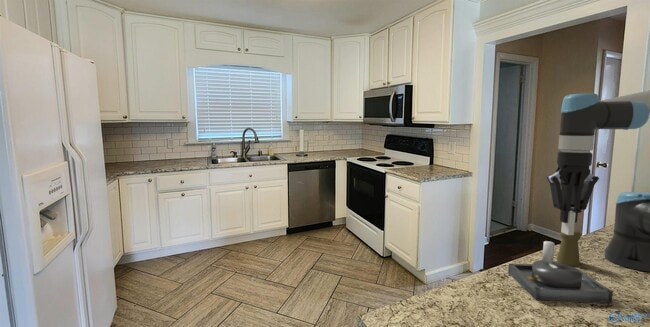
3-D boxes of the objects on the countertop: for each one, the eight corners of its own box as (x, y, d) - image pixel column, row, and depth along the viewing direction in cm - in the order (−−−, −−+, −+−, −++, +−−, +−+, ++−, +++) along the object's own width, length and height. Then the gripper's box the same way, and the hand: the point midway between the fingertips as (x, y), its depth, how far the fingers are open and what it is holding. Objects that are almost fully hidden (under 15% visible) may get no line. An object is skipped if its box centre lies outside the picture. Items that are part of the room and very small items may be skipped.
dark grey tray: (571, 274, 93) (572, 265, 93) (611, 303, 79) (612, 291, 78) (508, 272, 95) (508, 263, 95) (536, 300, 80) (536, 289, 80)
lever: (591, 290, 81) (594, 257, 80) (546, 288, 82) (548, 255, 81) (563, 270, 92) (566, 241, 90) (524, 269, 93) (526, 240, 92)
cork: (584, 266, 99) (587, 233, 97) (562, 265, 100) (565, 232, 99) (573, 258, 105) (575, 226, 103) (553, 257, 106) (555, 226, 104)
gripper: (587, 149, 89) (579, 229, 92) (541, 150, 90) (535, 229, 93) (611, 152, 82) (601, 238, 85) (561, 152, 82) (553, 238, 85)
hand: (567, 233), depth 89 cm, fingers closed
